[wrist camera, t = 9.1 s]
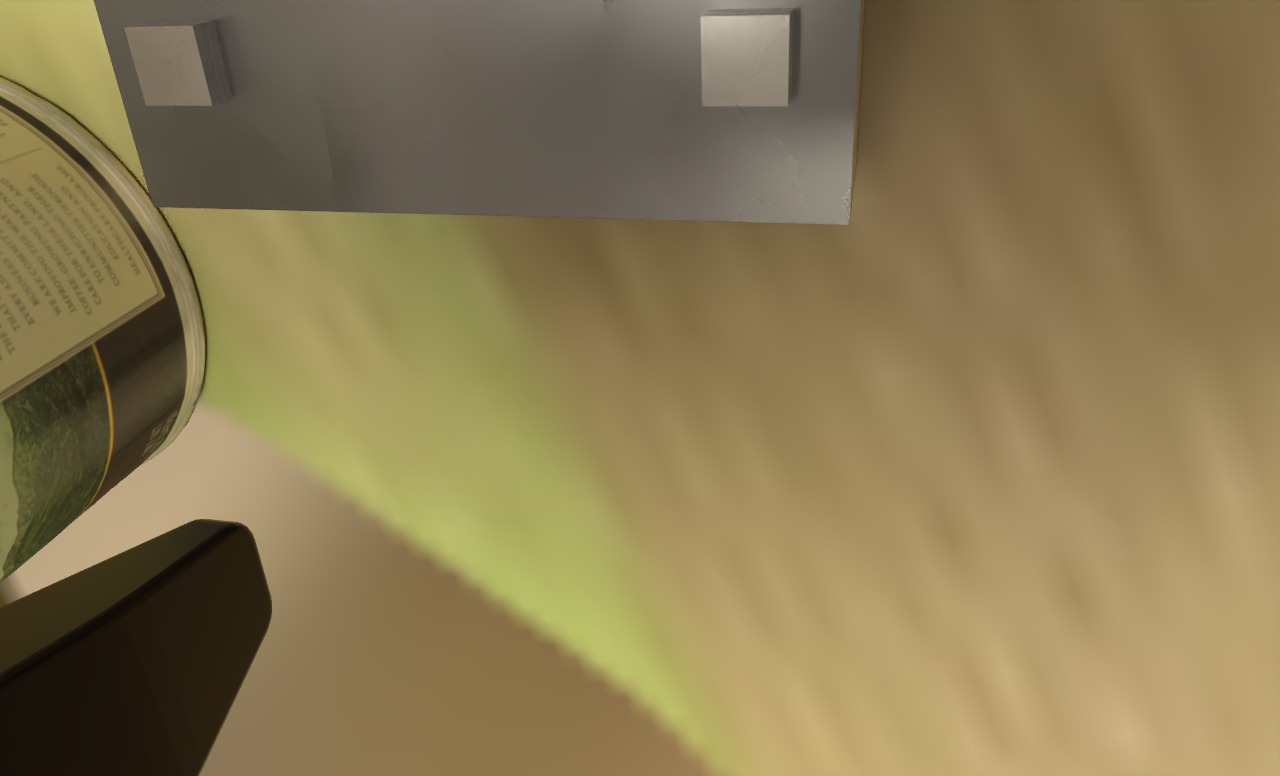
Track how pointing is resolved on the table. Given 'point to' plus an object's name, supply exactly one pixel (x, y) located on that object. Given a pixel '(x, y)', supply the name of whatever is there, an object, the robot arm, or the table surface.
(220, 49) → the rosette plate
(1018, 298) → the table surface
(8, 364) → the coffee can
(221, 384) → the table surface
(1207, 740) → the table surface
